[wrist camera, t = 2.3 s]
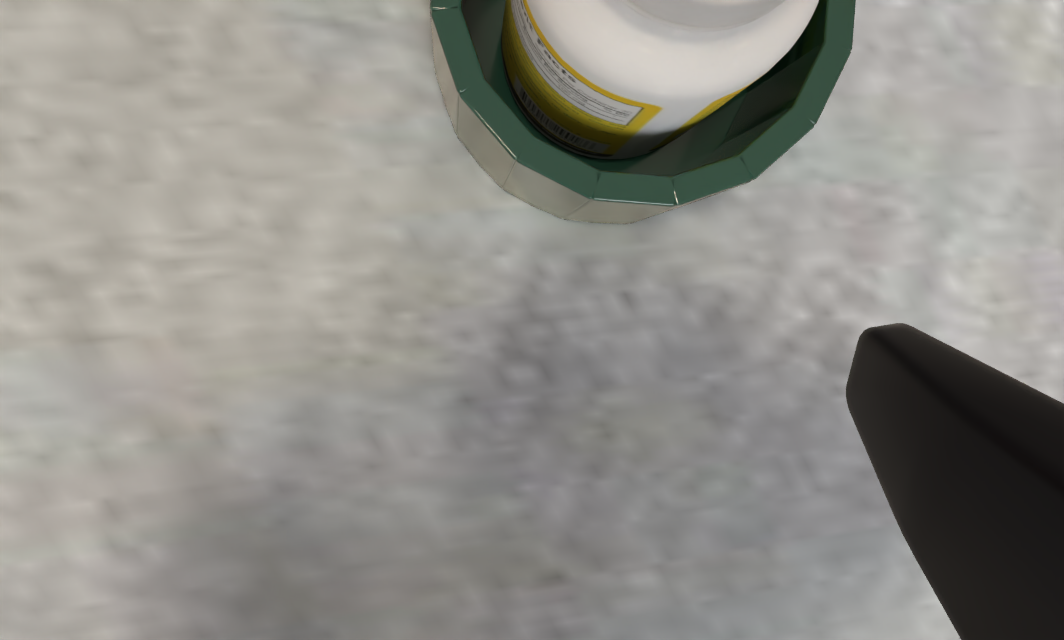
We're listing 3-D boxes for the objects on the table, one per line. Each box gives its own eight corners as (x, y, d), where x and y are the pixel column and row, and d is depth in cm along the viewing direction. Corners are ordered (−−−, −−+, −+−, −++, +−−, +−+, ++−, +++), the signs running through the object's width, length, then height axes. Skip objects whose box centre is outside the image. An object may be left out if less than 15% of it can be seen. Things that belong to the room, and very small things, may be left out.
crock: (832, 76, 23) (939, 16, 18) (588, 291, 22) (627, 291, 17) (620, -185, 22) (670, -323, 17) (365, 33, 22) (339, -44, 17)
